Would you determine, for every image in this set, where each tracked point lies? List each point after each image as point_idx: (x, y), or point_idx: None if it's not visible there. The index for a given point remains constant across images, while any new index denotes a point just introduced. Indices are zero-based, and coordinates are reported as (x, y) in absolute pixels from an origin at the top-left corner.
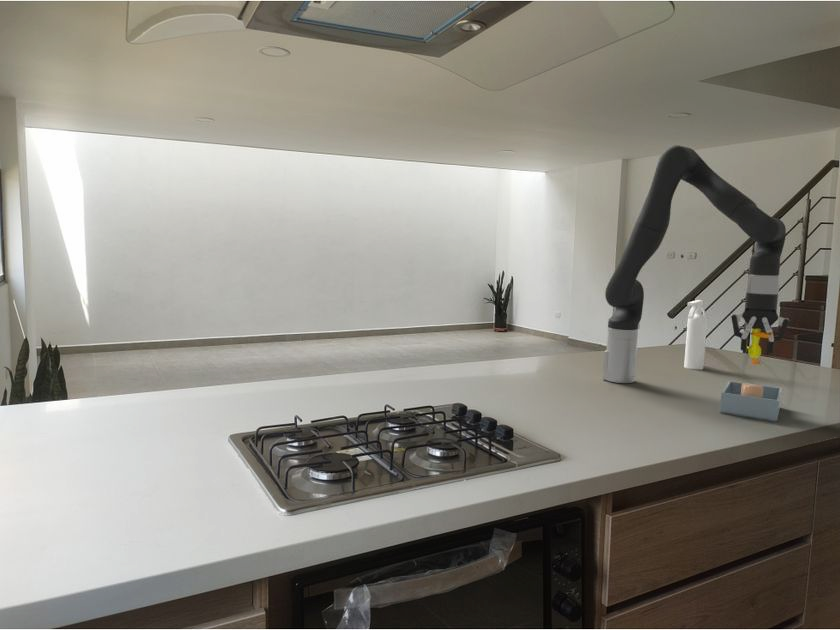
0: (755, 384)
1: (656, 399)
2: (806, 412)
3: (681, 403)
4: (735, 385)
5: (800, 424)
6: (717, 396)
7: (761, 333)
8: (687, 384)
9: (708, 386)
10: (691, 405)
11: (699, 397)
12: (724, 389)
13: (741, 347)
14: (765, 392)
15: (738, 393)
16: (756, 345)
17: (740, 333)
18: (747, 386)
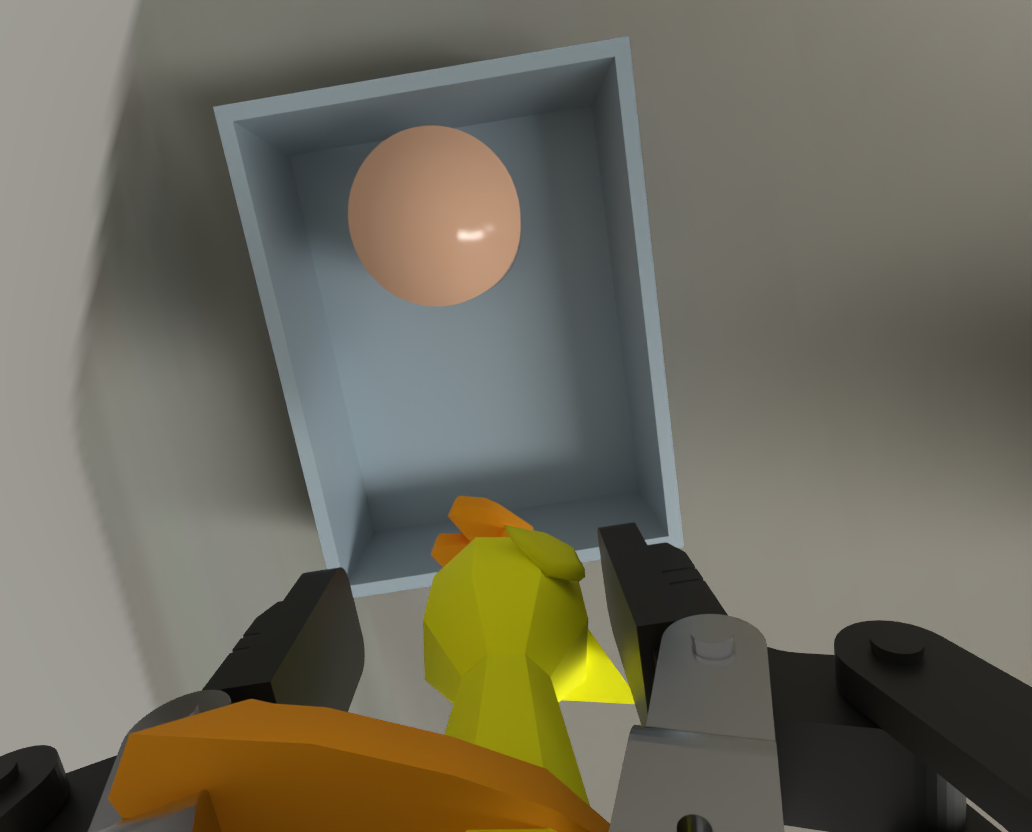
0: (432, 302)
1: (1023, 135)
2: (231, 536)
3: (859, 159)
4: None
5: (168, 208)
6: (716, 537)
7: (328, 744)
8: None
9: None
10: (793, 157)
11: (799, 424)
12: (640, 191)
13: (678, 561)
14: None
15: (596, 513)
16: (475, 639)
17: (831, 712)
18: (454, 129)
